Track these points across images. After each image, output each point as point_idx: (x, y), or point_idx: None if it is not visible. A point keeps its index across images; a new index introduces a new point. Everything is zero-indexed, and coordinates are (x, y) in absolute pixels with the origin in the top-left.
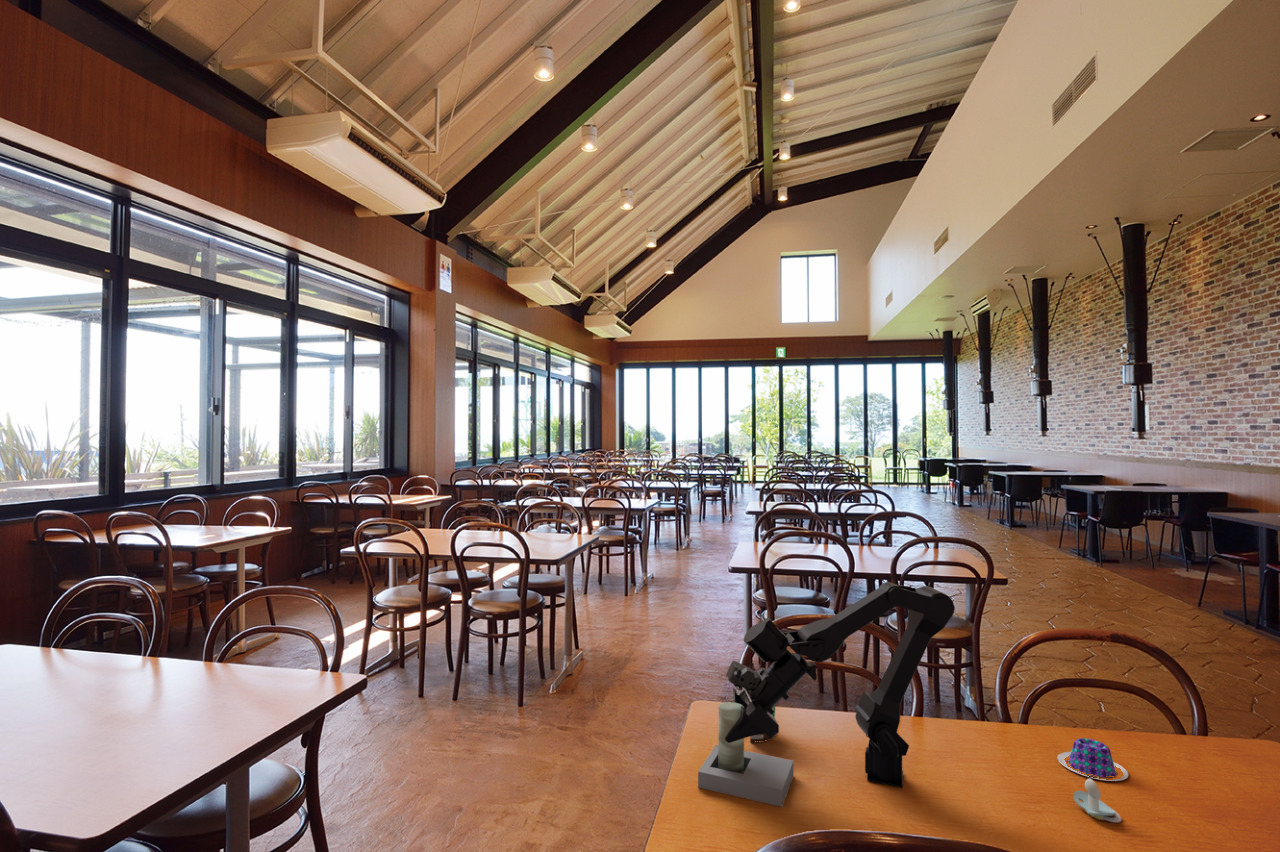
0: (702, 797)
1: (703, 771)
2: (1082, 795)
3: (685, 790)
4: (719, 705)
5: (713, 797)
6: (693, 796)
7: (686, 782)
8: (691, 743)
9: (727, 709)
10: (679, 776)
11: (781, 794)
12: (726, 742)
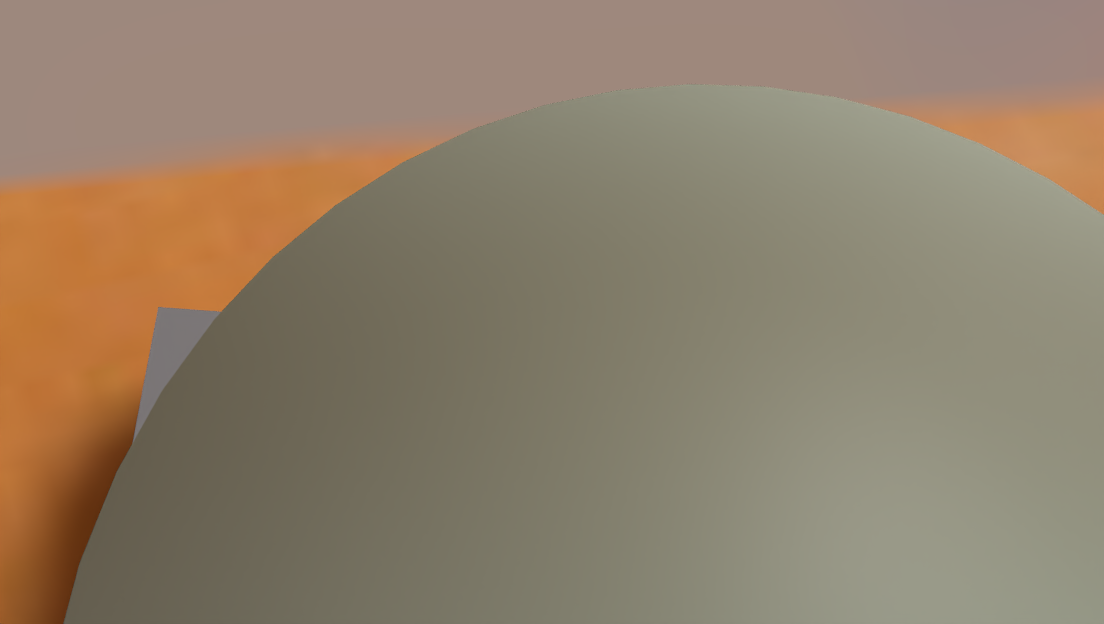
0: (13, 454)
1: (176, 368)
2: None
3: (115, 257)
4: (717, 111)
5: (41, 570)
6: (13, 360)
7: (278, 231)
8: (1070, 106)
9: (409, 560)
10: (374, 144)
11: None
12: None
